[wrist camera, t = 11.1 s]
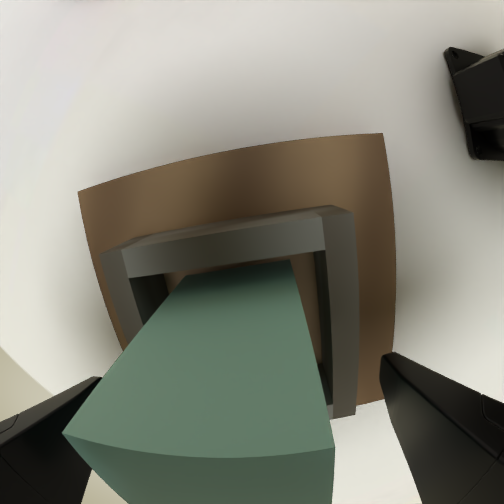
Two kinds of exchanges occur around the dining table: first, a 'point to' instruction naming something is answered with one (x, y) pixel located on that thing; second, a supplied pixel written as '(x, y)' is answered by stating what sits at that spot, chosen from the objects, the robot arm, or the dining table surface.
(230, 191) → the square socket base
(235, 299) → the rail post
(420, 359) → the dining table surface
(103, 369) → the dining table surface
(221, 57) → the dining table surface
